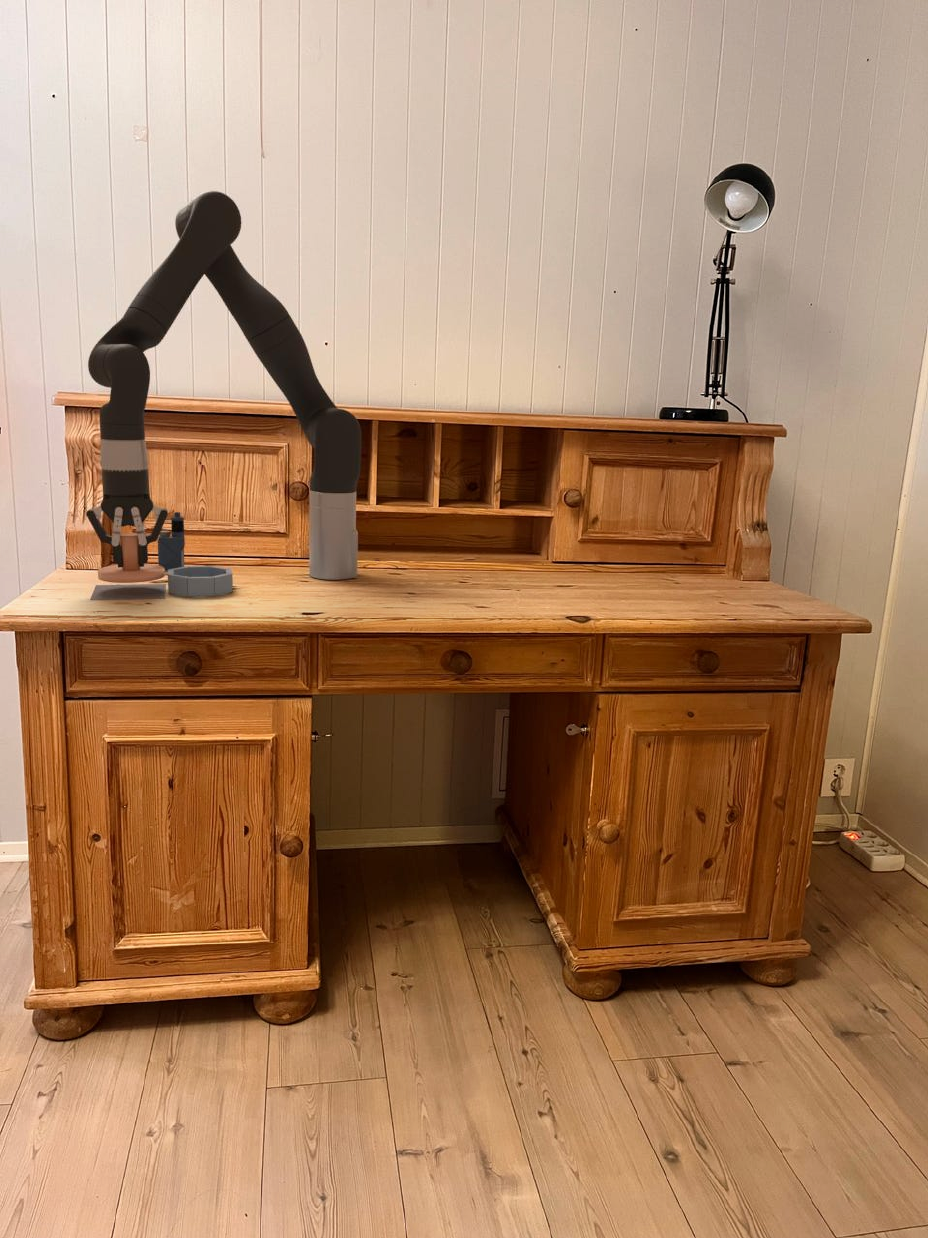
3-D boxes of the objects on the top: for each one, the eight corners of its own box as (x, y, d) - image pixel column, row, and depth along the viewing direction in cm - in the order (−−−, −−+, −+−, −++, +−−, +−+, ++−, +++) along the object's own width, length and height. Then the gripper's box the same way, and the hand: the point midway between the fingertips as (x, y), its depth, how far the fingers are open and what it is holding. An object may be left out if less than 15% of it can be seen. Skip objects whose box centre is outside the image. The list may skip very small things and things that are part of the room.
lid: (165, 569, 163) (163, 530, 162) (164, 581, 153) (162, 540, 152) (100, 571, 160) (97, 531, 158) (95, 583, 150) (92, 541, 148)
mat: (166, 587, 165) (165, 583, 165) (165, 601, 154) (165, 598, 154) (96, 588, 161) (95, 585, 161) (89, 603, 150) (89, 600, 150)
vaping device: (183, 574, 177) (181, 513, 174) (156, 572, 177) (154, 512, 174) (187, 571, 179) (185, 512, 177) (161, 570, 179) (159, 510, 177)
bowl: (230, 586, 168) (230, 565, 167) (233, 599, 158) (233, 577, 157) (168, 587, 165) (168, 566, 164) (168, 601, 154) (167, 578, 154)
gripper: (168, 464, 158) (173, 561, 162) (82, 464, 153) (89, 563, 158) (168, 468, 151) (173, 569, 155) (78, 468, 146) (85, 571, 151)
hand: (131, 565), depth 156 cm, fingers closed on lid, 3 cm apart
